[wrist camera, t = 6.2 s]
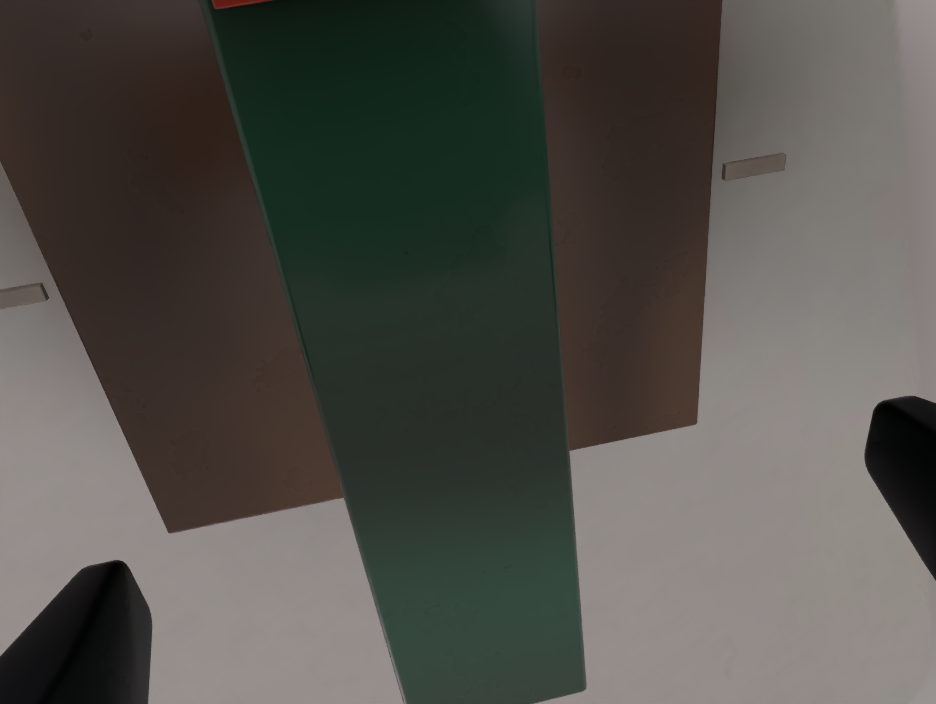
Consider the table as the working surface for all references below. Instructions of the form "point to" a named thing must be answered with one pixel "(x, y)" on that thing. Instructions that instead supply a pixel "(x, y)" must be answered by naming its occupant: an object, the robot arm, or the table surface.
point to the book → (425, 316)
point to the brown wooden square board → (252, 261)
